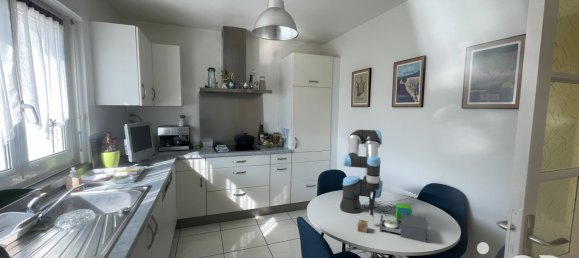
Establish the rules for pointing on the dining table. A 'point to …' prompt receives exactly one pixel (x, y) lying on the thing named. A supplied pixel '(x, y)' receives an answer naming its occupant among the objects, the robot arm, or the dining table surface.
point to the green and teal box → (402, 210)
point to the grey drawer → (389, 228)
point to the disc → (390, 224)
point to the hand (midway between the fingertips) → (371, 219)
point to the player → (414, 227)
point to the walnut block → (362, 226)
